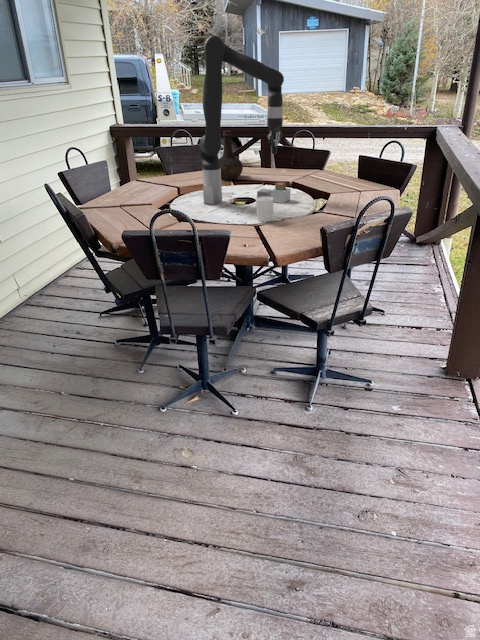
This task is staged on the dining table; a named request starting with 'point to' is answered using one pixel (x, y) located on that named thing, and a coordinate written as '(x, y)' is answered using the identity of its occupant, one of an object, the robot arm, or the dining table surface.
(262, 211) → the white cup
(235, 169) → the glass bottle
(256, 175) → the dining table surface
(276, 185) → the block
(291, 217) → the dining table surface
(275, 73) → the robot arm
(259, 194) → the gray square block
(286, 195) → the white microwave oven
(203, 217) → the dining table surface
